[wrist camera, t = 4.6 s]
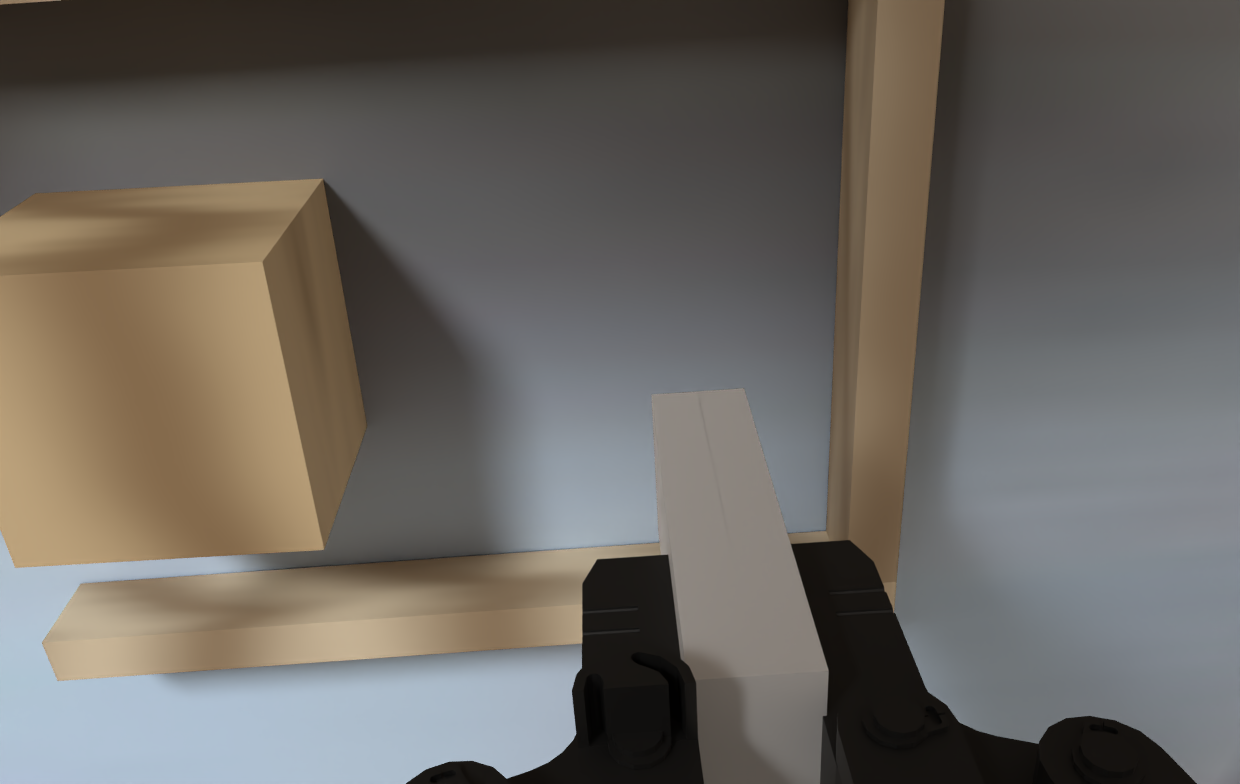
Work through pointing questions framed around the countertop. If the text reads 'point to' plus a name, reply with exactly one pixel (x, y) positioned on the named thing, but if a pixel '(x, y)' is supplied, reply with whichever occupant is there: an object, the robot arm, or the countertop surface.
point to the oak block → (173, 374)
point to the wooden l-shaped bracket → (552, 580)
